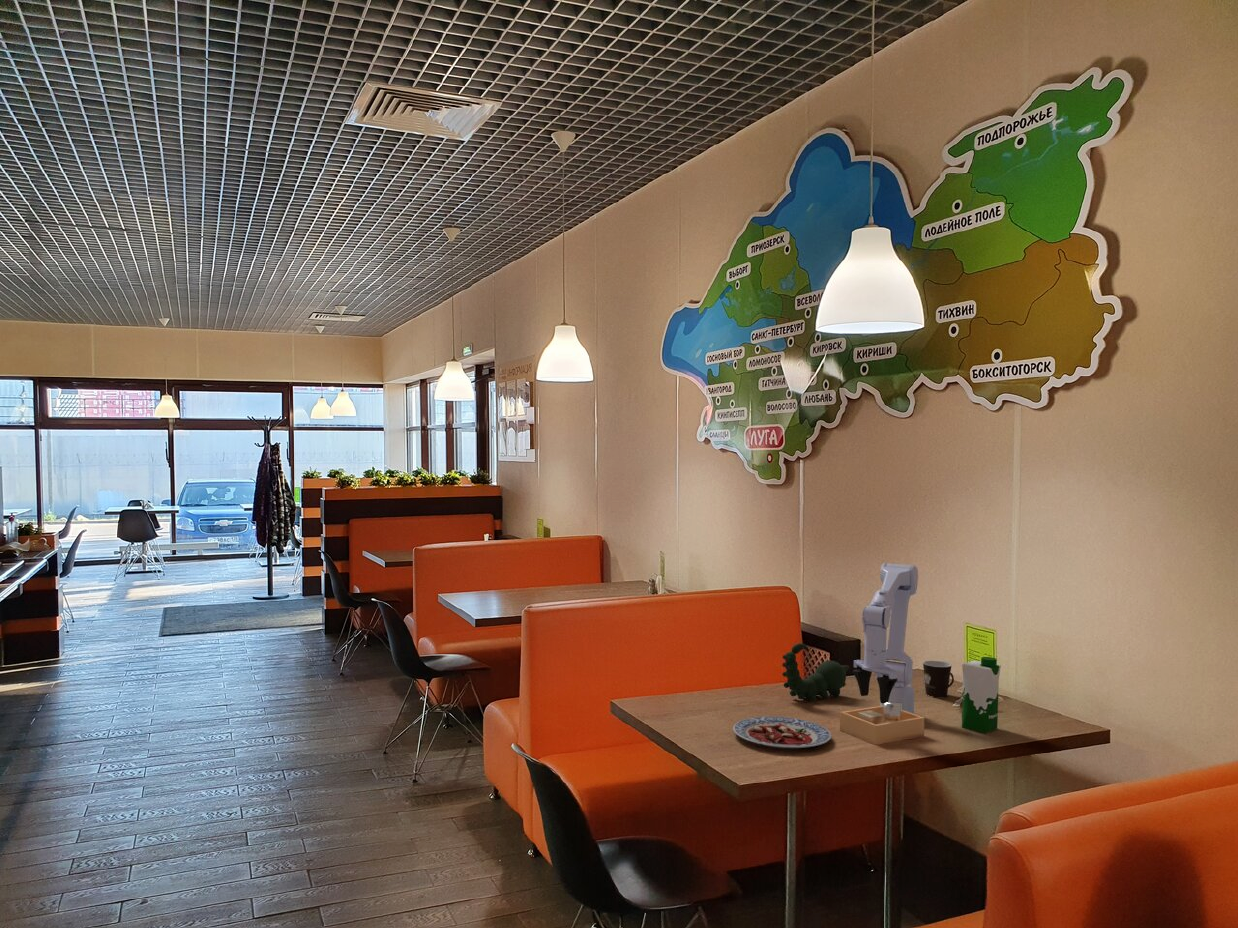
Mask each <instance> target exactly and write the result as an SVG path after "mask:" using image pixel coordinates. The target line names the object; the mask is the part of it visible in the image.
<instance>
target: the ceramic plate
mask: <svg viewBox="0 0 1238 928" xmlns="http://www.w3.org/2000/svg"><path fill="white" fill-rule="evenodd" d="M732 730H733V732H734V734H735V735H736V736H738V737H739V738H741V739H743V740H744V741H745V740H746V741H748V742H751V743H754V744H758V745H761V744H762V746H765V747H769V748H775V749H787V750H788V749H793V750H794V749H802V748H803V749H805V748H810V747H816V746H821V745H823V744H826V743H828V742H829V741H831V738H832V733H831V731H830V730H828V729H827V728H826V727H824V726H822V725H820V724H817V723H815V722H812V721H808V720H804V719H799V718H792V717H784V716H757V717H749V718H745V719H742V720H739V721H737V722H735V724H733V727H732Z"/></svg>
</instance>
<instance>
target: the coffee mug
mask: <svg viewBox="0 0 1238 928" xmlns="http://www.w3.org/2000/svg"><path fill="white" fill-rule="evenodd" d="M922 667H923V677H924V688H925V695H926V694H927V695H926V696H928V695H929V696H928V697H930V696H933V697H932V698H936V697H945V698H947V697H948V691H949V688H951V686H952V685H953V684H954V682H955V679H954V678H955V677H954V675H953V673H952V664H951V663H949V662H946V661H940V660H924V661H922ZM950 677H951V678H950ZM950 679H951V682H950ZM946 696H947V697H946Z"/></svg>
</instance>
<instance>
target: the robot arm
mask: <svg viewBox="0 0 1238 928" xmlns="http://www.w3.org/2000/svg"><path fill="white" fill-rule="evenodd" d="M879 575H880V577H879V578H880V581H881V583H882V584H881V585H882V586H881V589H879V590H877V591H875V593H874V595H873V597H872V599H871V602H870V603H869V605H867V606H865V607H863V610H862V615H861V618H862V621H861V622H862V626H863V627H862V628H863V630H862V631H863V633H864V658H863V659H864V660H861V659H856V660H853V668H856V669H853V670H852V674H853V675H854V677H855V679H856V683H857V686H858V688H859V689H858V690H859V694H860V696H861V697H866V696H869V691H870V682H871V677H872V673H874V677H875V679H876V680H877V683H878V688H879V701H880V702H879V703H880V704H879V706H883V703H888V700H891V701H898V702H901V703H902V710H904V711H907V712H910V713H912V714H915V715H917V714H916V712H915V690H914V688H913V686H912V685H911V683H912V681H913V676H914V670H913V669H914V668H913V663H914V662H913V659H912V657H910V655H908V654H907V652H905V651H904V650H905V641H906V631H907V622H908V613H909V603H910V599H911V596H913V595H915V594H916V593H917V590H918V583H919V571H918V567H917V566H916V565H915V564H913V565H911V564H910V565H908V564H900V563H899V564H896V563H888V562H884V563H882V565H881V567H880V574H879ZM887 629H889V630H888V632H887ZM887 633H888V640H887Z"/></svg>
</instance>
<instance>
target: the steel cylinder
mask: <svg viewBox="0 0 1238 928" xmlns="http://www.w3.org/2000/svg"><path fill="white" fill-rule="evenodd" d="M883 715H884V723H889V722H895V721H901V720H902V703H901V702H898V701H891V700H888V703H883Z"/></svg>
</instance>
